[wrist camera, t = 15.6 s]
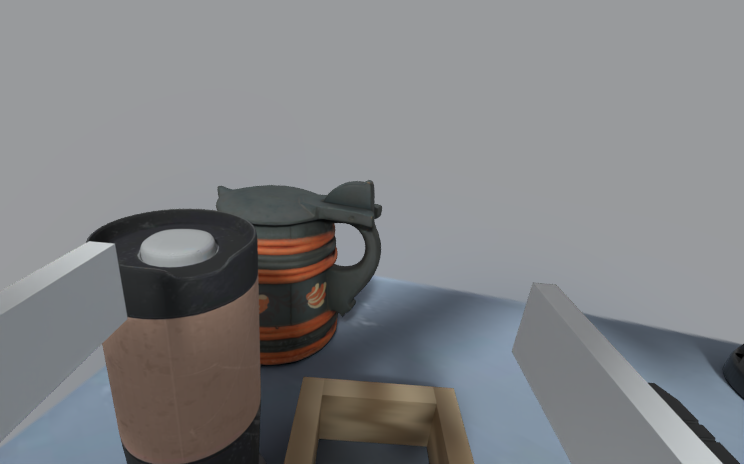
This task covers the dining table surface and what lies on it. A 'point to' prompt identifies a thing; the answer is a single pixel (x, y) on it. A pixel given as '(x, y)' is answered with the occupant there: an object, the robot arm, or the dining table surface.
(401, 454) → the dining table surface
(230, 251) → the travel mug
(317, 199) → the beer stein
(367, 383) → the frame
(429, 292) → the dining table surface
